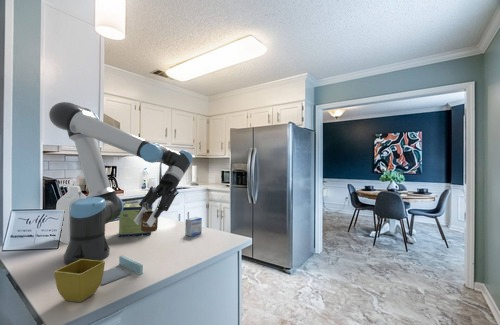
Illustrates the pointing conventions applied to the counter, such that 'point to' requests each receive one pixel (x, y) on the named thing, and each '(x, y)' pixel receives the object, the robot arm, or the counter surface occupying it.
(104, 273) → the slate pad
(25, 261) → the counter surface
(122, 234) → the protein box
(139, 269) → the acrylic wall
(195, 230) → the medicine box
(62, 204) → the milk
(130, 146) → the robot arm
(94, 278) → the flower pot
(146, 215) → the utensil holder
